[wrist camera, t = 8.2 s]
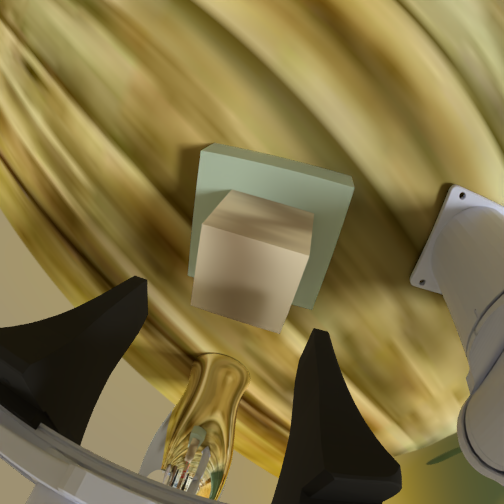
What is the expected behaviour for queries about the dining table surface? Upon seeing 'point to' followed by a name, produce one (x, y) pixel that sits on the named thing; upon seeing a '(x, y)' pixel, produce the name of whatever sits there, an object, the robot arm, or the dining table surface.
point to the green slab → (279, 190)
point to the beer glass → (200, 429)
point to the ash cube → (251, 259)
